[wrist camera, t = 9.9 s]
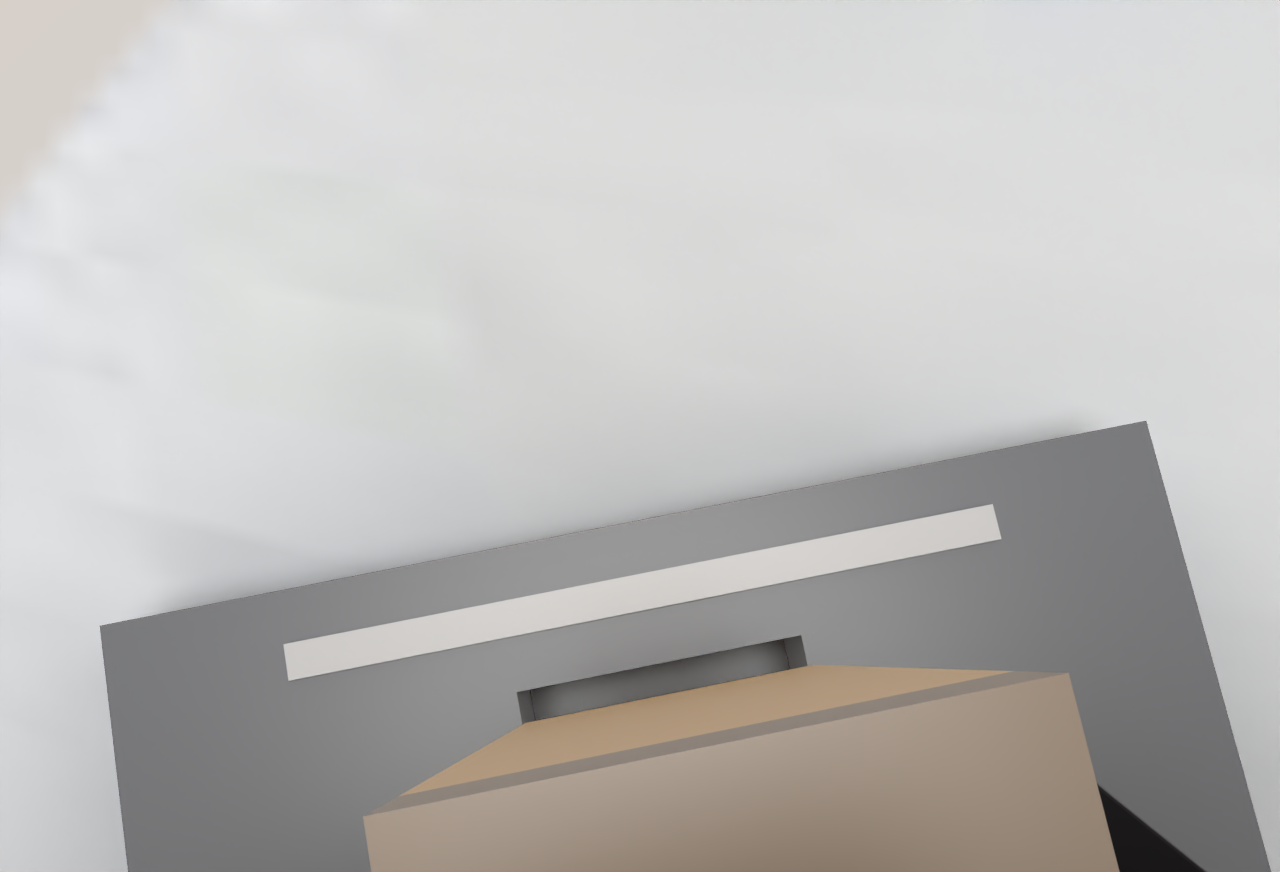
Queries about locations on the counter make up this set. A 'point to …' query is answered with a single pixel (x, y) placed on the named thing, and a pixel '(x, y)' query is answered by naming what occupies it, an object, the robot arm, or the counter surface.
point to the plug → (774, 782)
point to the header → (682, 648)
